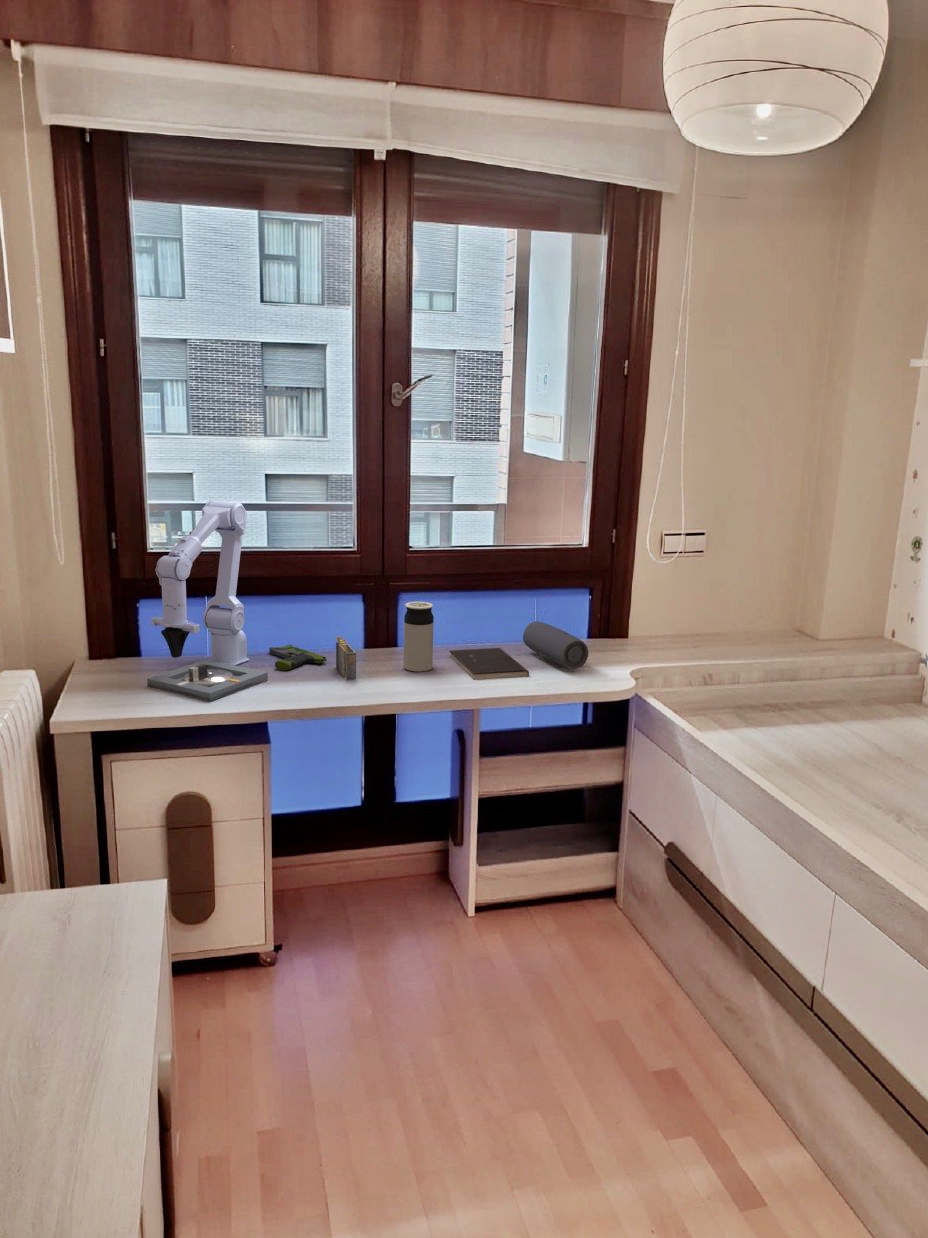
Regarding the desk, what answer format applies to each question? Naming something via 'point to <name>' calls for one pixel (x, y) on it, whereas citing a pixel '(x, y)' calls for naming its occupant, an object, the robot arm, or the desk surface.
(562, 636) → the bluetooth speaker
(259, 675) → the dial plate
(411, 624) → the travel mug
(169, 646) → the robot arm
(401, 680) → the desk surface
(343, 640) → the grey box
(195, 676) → the dial
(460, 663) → the hardcover book
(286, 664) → the gun
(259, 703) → the desk surface
